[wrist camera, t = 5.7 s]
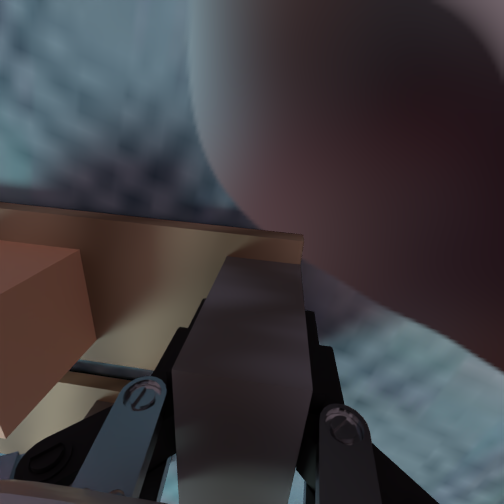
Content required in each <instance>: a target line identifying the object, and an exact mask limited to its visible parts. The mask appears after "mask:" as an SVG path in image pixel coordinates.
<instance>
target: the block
mask: <svg viewBox="0 0 504 504" xmlns="http://www.w3.org/2000/svg"><path fill="white" fill-rule="evenodd" d="M96 340H97V339H96V334H95V329H94V324H93V318H92V313H91V308H90V303H89V297H88V292H87V287H86V281H85V276H84V271H83V266H82V260H81V255H80V250H79V249H70V248H62V247H54V246H45V245H37V244H28V243H20V242H11V241H3V240H0V438H4V439H6V438H7V437H8V436H9V435H10V434H11V433H12V432H13V431H14V430H15V429H16V427H17V426H18V425H19V424H20V423H21V422H22V421H23V420H24V419H25V418H26V417H27V415H28V414H29V413H30V412H31V411H32V410H33V409H34V408H35V407H36V406H37V405H38V403H39V402H40V401H41V400H42V399H43V398H44V397H45V396H46V395H47V394H48V393H49V391H50V390H51V389H52V388H53V387H54V386H55V385H56V384H57V383H58V382H59V381H60V379H61V378H62V377H63V376H64V375H65V374H66V373H67V372H68V371H69V370H70V369H71V368H72V366H73V365H74V364H75V363H76V362H77V361H78V360H79V359H80V358H81V357H82V356H83V354H84V353H85V352H86V351H87V350H88V349H89V348H90V347H91V346H92V345H93V344H94V342H95V341H96Z"/></svg>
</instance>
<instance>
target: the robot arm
mask: <svg viewBox="0 0 504 504" xmlns="http://www.w3.org/2000/svg"><path fill="white" fill-rule="evenodd" d="M205 300H206V298H203V299H202V301H201V303H200V305H199V307H198V309H197V311H196V313H195V315H194V317H193V319H192V321H191V323H190V325H189V327H188V328H185V327H179V328H178V329H177V331H176V332H175V334H174V336H173V338H172V340H171V341H170V343H169V345H168V347H167V349H166V350H165V352H164V354H163V356H162V357H161V359H160V361H159V363H158V365H157V366H156V368H155V370H154V372H153V374H152V375H151V376H143V377H140V378H136V379H134V380H133V381H131V382H129V383H128V384H127V385H126V386H124V387H123V389H122V390H121V392H120V393H119V395H118V397H117V399H116V401H115V402H114V404H113V405H112V406H110V407H108V408H106V409H104V410H102V411H100V412H98V413H96V414H93V415H91V416H89V417H87V418H85V419H83V420H81V421H79V422H77V423H75V424H73V425H71V426H69V427H67V428H65V429H63V430H61V431H59V432H57V433H55V434H52V435H50V436H48V437H46V438H45V439H43V440H41V441H40V442H38V443H36V444H35V445H34V446H33V447H32V448H30V449H29V450H28V451H27V452H26V453H24V454H21V455H20V454H19V451H17V452H13V453H10V454H6V455H3V456H0V504H166V503H161V502H160V500H161V496H162V493H163V489H164V485H165V481H166V477H167V473H168V469H169V465H170V461H171V456H172V455H174V454H175V453H176V438H175V421H174V403H173V385H172V368H173V366H174V364H175V361H176V359H177V357H178V355H179V353H180V351H181V349H182V347H183V345H184V343H185V341H186V339H187V337H188V335H189V333H190V331H191V329H192V327H193V325H194V323H195V320H196V318H197V316H198V314H199V312H200V310H201V308H202V306H203V304H204V302H205ZM305 317H306V327H307V337H308V347H309V357H310V367H311V377H312V387H313V392H312V396H311V401H310V405H309V410H308V414H307V419H306V423H305V428H304V432H303V437H302V441H301V446H300V450H299V455H298V459H297V464H296V470H297V471H298V473H299V474H300V475H301V476H302V478H303V479H304V480H305V481H304V498H303V504H439V503H438V502H437V501H436V500H435V499H433V498H432V497H431V496H430V495H429V494H428V493H427V492H426V491H425V490H423V489H422V488H421V487H420V486H419V485H418V484H417V483H416V482H415V481H413V480H412V479H411V478H410V477H409V476H408V475H407V474H406V473H405V472H404V471H402V470H401V469H400V468H399V467H398V466H397V465H396V464H395V463H394V462H392V461H391V460H390V459H389V458H388V457H387V456H386V455H385V454H384V453H382V452H381V451H380V450H379V449H378V448H377V447H376V446H375V445H374V444H373V443H372V441H371V435H370V431H369V427H368V424H367V423H366V421H365V420H364V418H363V417H362V416H361V415H360V414H359V413H358V412H357V411H356V410H354V409H352V408H351V407H349V406H346V405H344V400H343V395H342V391H341V386H340V381H339V376H338V371H337V367H336V362H335V357H334V352H333V349H332V347H330V346H322V345H319V341H318V334H317V327H316V321H315V314H314V312H313V311H305Z"/></svg>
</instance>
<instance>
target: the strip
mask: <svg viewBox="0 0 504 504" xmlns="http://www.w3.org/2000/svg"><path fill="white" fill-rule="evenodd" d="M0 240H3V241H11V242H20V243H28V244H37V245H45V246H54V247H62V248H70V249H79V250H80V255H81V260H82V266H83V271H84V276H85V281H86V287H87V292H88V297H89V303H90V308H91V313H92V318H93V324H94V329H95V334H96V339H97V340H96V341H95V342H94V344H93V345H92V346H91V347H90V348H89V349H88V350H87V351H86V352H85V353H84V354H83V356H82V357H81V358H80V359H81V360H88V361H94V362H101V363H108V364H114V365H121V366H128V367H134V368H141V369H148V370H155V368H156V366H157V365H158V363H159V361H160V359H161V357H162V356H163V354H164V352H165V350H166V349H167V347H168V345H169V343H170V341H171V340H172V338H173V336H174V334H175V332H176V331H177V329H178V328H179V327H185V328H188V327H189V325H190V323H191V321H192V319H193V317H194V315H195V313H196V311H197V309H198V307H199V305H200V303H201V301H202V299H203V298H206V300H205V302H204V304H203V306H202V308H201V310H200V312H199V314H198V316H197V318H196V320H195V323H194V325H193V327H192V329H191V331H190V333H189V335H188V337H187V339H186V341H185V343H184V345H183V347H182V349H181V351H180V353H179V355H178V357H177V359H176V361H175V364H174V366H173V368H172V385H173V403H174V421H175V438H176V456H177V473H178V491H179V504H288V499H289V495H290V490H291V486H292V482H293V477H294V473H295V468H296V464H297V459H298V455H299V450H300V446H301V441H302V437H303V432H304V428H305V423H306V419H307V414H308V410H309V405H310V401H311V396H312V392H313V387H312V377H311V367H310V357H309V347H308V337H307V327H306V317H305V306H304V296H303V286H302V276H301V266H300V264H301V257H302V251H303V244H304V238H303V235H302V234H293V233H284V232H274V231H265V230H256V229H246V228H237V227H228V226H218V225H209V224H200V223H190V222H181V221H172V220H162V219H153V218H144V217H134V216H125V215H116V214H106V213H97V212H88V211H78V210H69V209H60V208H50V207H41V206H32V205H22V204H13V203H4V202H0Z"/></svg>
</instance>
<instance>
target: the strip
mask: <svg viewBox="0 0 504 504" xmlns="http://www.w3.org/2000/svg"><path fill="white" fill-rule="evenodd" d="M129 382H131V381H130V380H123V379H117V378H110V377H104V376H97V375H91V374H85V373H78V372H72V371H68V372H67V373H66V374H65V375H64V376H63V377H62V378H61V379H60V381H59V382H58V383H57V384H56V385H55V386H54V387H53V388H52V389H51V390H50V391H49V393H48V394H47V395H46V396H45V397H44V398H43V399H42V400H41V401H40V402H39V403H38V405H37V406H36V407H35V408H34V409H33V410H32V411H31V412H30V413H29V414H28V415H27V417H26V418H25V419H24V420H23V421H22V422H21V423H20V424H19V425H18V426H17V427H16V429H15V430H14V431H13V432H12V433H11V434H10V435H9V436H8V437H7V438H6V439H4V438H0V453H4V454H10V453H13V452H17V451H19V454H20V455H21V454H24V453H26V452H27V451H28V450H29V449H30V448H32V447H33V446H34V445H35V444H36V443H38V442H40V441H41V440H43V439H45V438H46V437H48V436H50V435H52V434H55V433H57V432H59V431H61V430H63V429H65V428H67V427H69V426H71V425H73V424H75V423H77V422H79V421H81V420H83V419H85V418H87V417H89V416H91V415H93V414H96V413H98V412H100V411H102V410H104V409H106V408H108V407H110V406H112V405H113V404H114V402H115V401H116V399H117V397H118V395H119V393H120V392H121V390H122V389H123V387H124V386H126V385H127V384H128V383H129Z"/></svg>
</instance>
